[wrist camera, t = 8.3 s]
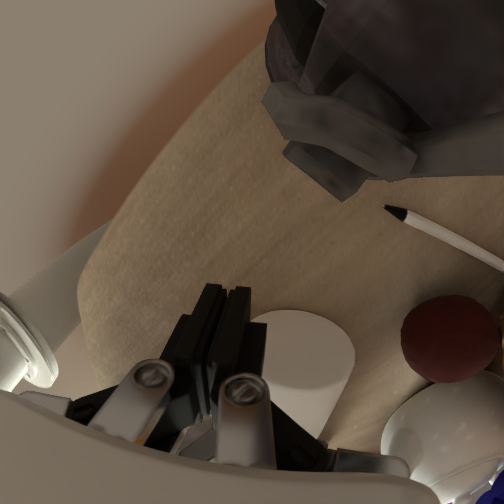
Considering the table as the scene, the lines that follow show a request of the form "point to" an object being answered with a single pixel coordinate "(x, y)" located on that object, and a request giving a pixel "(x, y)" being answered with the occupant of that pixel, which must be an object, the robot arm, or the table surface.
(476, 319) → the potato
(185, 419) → the robot arm
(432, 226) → the pen
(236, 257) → the table surface
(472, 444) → the teapot
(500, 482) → the toy
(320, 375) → the mug
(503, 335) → the seashell
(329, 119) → the lantern
